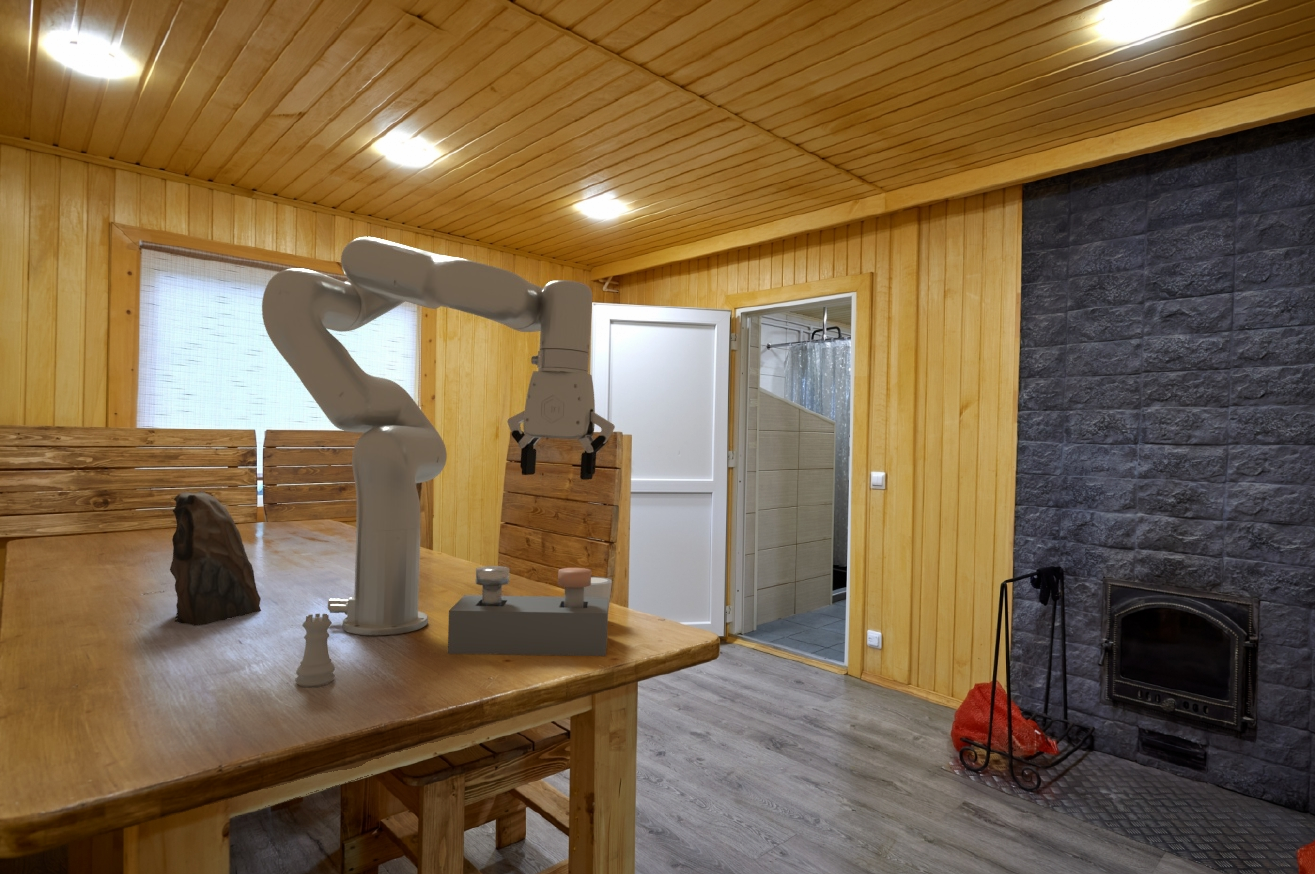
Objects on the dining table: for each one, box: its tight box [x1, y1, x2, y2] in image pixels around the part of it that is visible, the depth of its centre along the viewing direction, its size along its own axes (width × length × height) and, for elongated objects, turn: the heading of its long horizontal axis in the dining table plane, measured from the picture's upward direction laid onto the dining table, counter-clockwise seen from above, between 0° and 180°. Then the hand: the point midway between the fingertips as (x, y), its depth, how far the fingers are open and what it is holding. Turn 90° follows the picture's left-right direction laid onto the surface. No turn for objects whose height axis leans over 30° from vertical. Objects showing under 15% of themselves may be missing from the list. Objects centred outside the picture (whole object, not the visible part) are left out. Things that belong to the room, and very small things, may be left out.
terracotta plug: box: [557, 567, 592, 608], centre depth 105 cm, size 5×5×8 cm
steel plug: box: [475, 565, 510, 606], centre depth 105 cm, size 5×5×8 cm
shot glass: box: [584, 576, 613, 612], centre depth 120 cm, size 7×7×7 cm
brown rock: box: [169, 490, 262, 627], centre depth 116 cm, size 13×13×20 cm
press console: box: [447, 594, 609, 657], centre depth 105 cm, size 22×10×6 cm, turn 93°
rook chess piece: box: [294, 613, 336, 688], centre depth 87 cm, size 4×4×8 cm
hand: (556, 476), depth 108 cm, fingers open, 9 cm apart
